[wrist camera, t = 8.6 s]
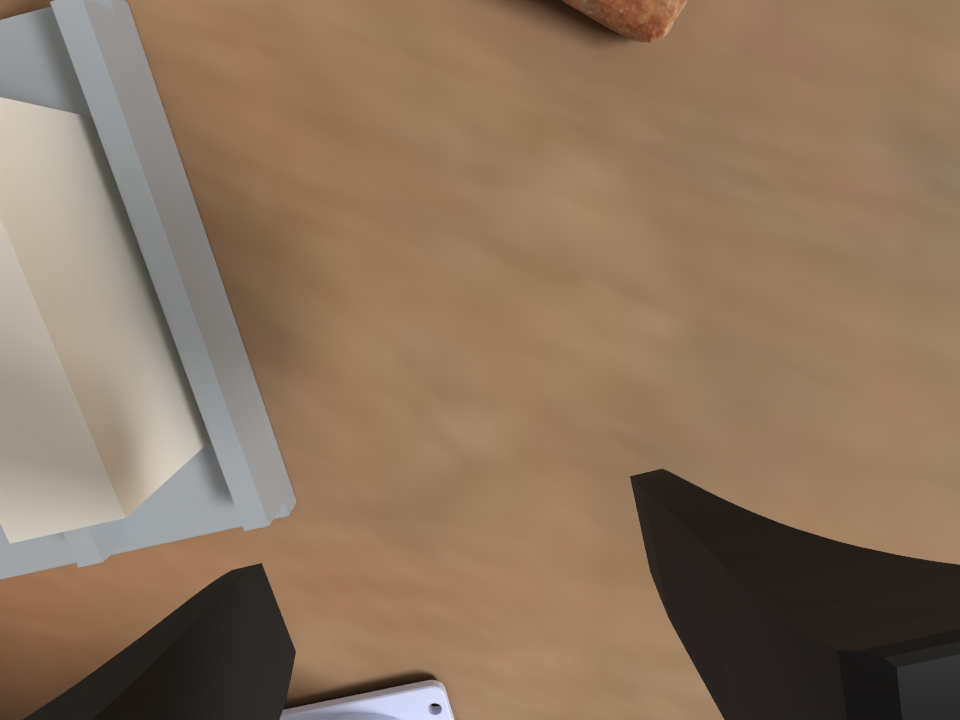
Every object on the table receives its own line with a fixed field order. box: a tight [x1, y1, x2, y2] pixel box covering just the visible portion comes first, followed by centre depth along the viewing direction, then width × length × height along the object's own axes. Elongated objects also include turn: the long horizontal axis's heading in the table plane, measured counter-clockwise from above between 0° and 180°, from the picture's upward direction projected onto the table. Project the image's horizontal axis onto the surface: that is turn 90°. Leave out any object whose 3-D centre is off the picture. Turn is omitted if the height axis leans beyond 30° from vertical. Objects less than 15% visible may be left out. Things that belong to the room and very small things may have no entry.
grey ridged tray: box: [0, 0, 297, 579], centre depth 19 cm, size 16×12×2 cm
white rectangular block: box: [0, 97, 210, 544], centre depth 16 cm, size 10×3×5 cm, turn 13°
